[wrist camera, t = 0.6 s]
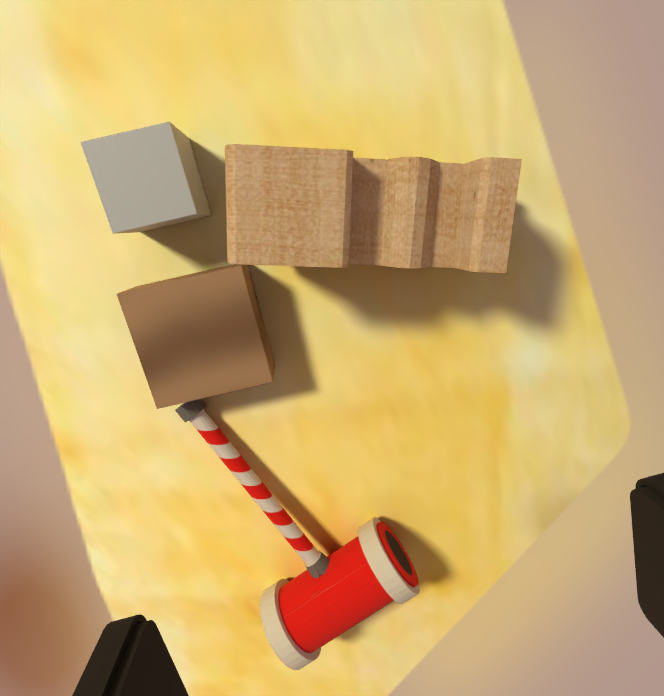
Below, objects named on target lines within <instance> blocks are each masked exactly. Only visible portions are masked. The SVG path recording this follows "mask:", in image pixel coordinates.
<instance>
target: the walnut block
mask: <svg viewBox="0 0 664 696" xmlns="http://www.w3.org/2000/svg"><path fill="white" fill-rule="evenodd" d="M117 296H118V299H119V302H120V305H121V308H122V311H123V313H124V316H125V319H126V322H127V325H128V328H129V330H130V333H131V336H132V339H133V342H134V345H135V347H136V350H137V353H138V356H139V359H140V362H141V364H142V367H143V370H144V373H145V376H146V379H147V381H148V384H149V387H150V390H151V393H152V396H153V398H154V401H155V404H156V407H157V409H159V408H163V407H167V406H172V405H176V404H180V403H184V402H189V401H193V400H197V399H202V398H206V397H210V396H214V395H219V394H223V393H227V392H232V391H236V390H240V389H244V388H249V387H253V386H257V385H262V384H266V383H270V382H273V376H274V369H275V364H274V360H273V356H272V352H271V349H270V345H269V341H268V337H267V334H266V330H265V326H264V322H263V319H262V315H261V311H260V307H259V304H258V300H257V296H256V292H255V289H254V285H253V281H252V277H251V274H250V270H249V266H248V265H244V264H233V265H228V266H224V267H220V268H215V269H211V270H206V271H202V272H198V273H193V274H189V275H185V276H180V277H176V278H171V279H167V280H163V281H158V282H154V283H150V284H145V285H141V286H137V287H134V288H131V289H129V290H126V291H123V292H121V293H118V294H117Z"/></svg>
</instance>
